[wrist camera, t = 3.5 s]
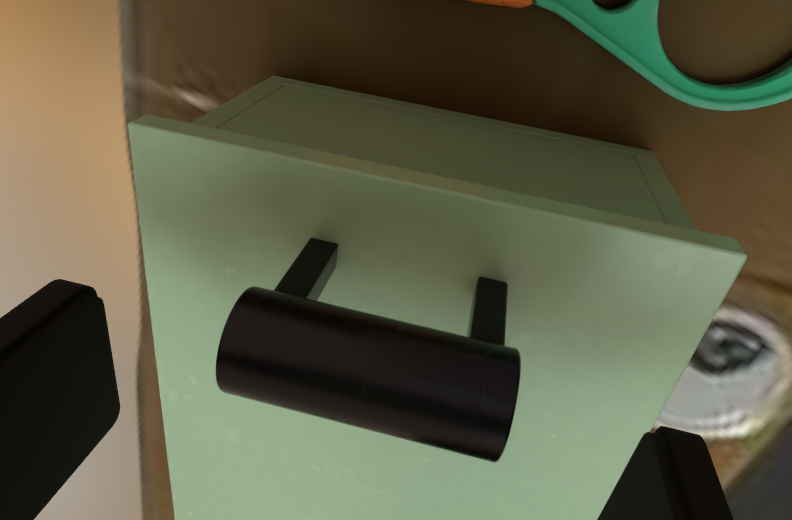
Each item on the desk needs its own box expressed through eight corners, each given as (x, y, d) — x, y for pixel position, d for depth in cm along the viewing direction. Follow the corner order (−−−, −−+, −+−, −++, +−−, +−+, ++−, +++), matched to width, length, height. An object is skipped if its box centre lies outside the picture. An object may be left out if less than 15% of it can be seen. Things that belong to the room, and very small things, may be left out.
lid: (146, 112, 13) (-49, 205, 9) (737, 237, 12) (865, 422, 7) (185, 506, 21) (95, 659, 17) (539, 606, 20) (543, 800, 16)
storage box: (272, 74, 20) (150, 144, 14) (652, 150, 19) (720, 267, 12) (266, 369, 28) (186, 505, 21) (536, 438, 27) (539, 604, 20)
